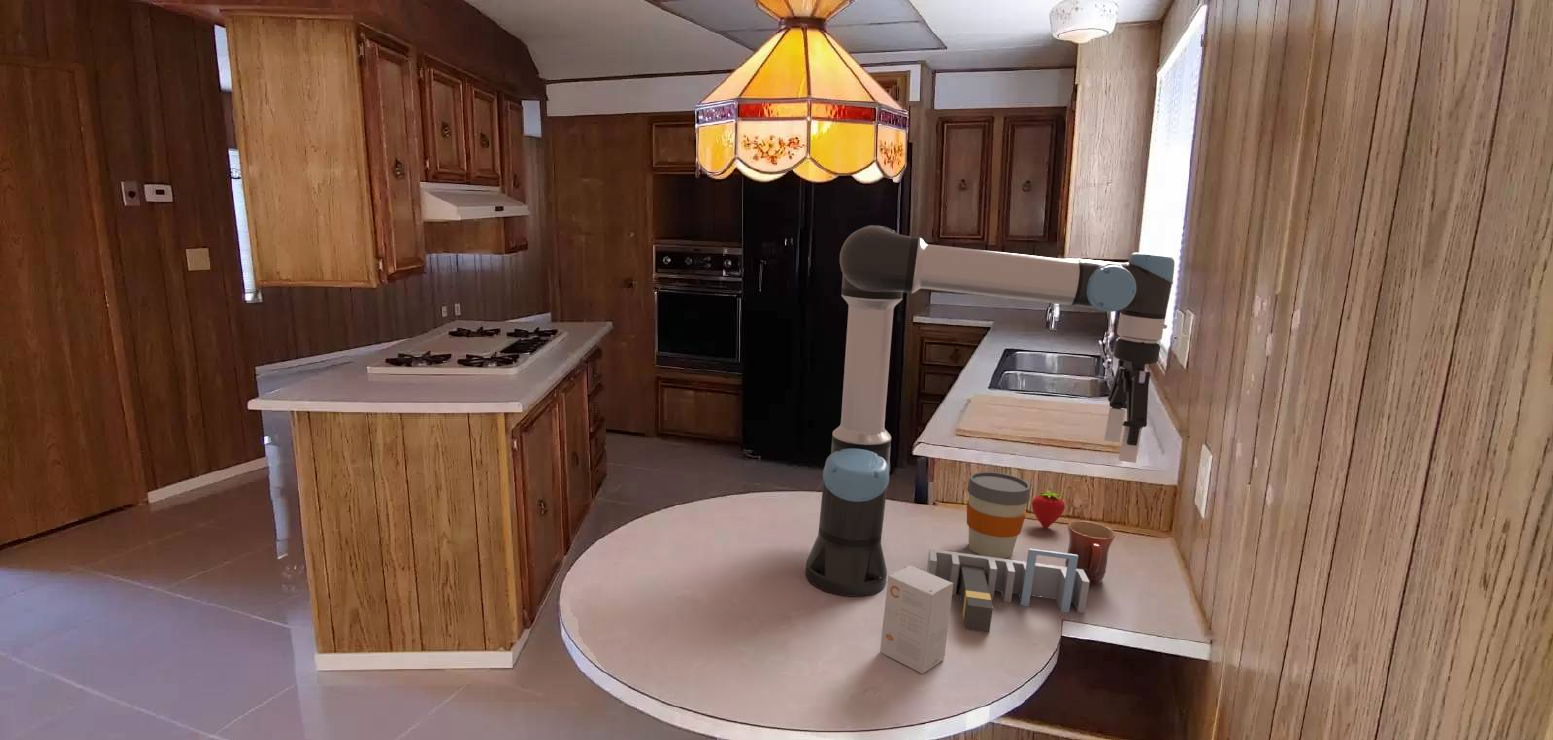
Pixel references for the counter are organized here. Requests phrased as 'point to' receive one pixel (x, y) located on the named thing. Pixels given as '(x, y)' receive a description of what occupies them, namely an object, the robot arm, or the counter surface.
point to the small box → (916, 618)
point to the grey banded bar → (975, 599)
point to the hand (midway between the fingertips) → (1119, 451)
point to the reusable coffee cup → (995, 512)
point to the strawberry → (1048, 508)
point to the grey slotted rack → (1010, 576)
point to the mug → (1090, 548)
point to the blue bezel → (1068, 580)
